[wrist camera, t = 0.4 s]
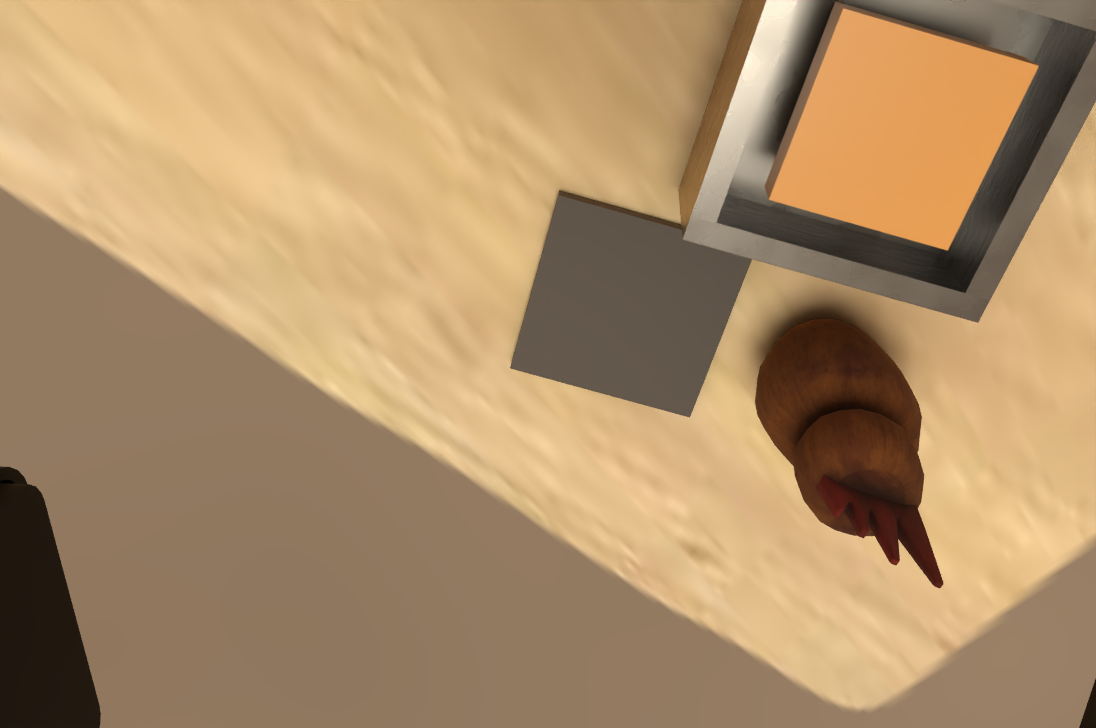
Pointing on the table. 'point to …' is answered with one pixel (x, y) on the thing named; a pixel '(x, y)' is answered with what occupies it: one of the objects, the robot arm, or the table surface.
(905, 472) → the wooden figurine
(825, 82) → the button
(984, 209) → the box
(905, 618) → the table surface
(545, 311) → the mat
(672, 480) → the table surface
